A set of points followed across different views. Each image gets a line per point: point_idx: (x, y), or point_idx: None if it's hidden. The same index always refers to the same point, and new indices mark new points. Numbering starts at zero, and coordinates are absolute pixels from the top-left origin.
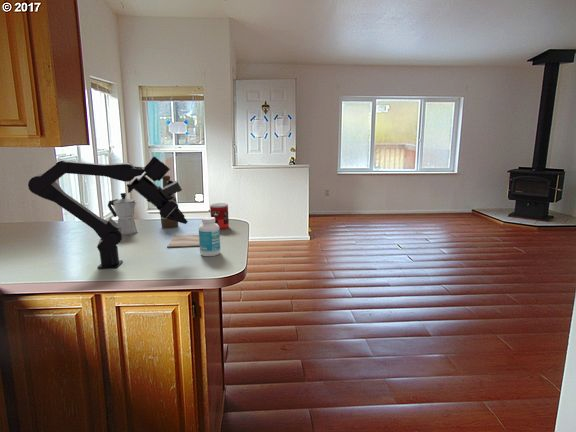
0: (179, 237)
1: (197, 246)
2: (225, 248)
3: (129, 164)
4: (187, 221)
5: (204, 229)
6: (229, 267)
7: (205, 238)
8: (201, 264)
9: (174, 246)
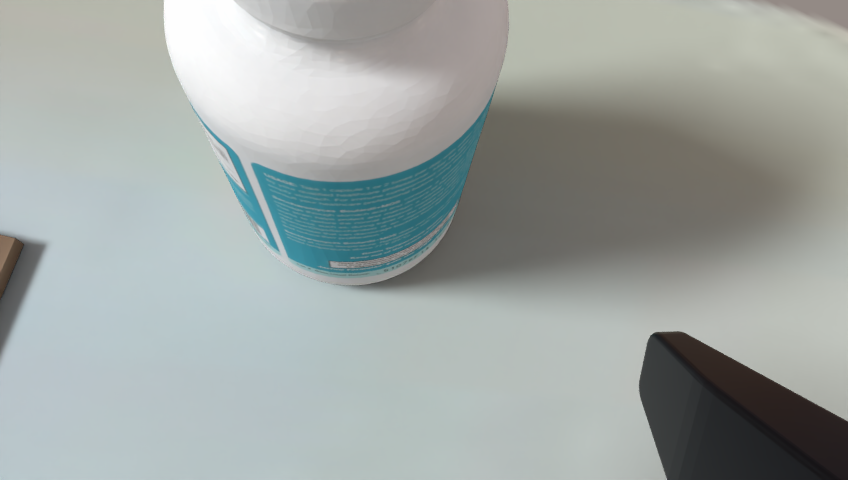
0: None
1: (5, 283)
2: None
3: None
4: (687, 334)
5: (488, 91)
6: (789, 103)
7: (472, 153)
8: (657, 314)
9: None
